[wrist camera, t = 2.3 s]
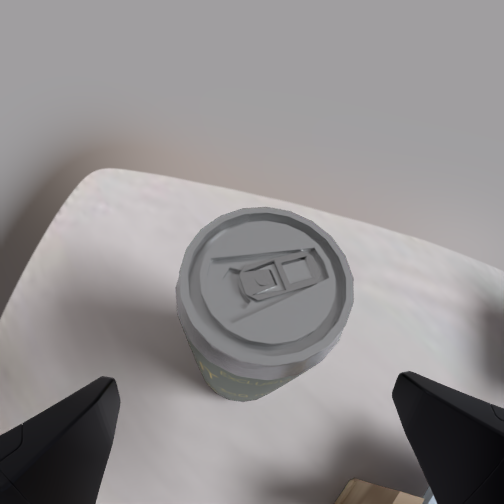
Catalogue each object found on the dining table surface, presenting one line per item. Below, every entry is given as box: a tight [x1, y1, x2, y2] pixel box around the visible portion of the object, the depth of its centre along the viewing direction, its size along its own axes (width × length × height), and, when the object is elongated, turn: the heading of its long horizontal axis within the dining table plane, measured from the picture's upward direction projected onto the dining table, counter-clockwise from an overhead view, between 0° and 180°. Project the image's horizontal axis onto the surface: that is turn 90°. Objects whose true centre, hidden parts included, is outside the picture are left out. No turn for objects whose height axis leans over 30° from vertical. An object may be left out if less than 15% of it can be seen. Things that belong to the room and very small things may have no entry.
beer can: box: [176, 207, 354, 402], centre depth 13 cm, size 5×5×12 cm
